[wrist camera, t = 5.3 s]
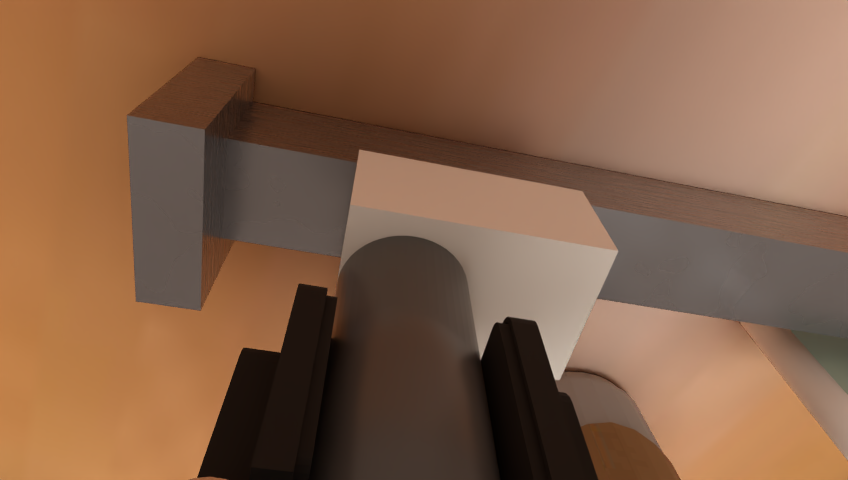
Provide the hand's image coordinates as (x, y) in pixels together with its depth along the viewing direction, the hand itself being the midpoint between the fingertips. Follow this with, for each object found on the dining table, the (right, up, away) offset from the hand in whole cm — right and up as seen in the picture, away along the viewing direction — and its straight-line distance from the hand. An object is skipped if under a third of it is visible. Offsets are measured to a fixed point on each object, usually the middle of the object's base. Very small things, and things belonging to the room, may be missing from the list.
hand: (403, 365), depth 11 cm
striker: (0, -2, +9) cm, 9 cm away
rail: (+7, +3, +8) cm, 11 cm away
